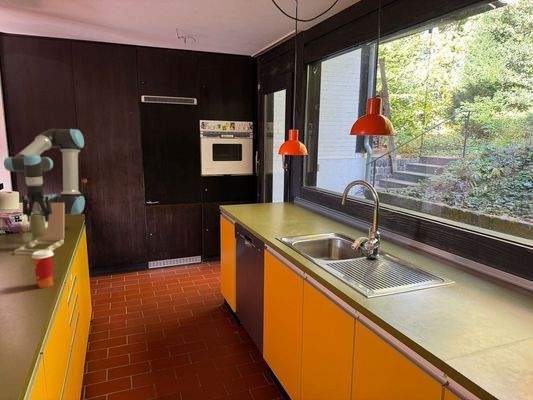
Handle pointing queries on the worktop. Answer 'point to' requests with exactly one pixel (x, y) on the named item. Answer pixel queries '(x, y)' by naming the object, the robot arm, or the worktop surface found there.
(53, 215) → the lid
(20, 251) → the frame
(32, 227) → the squeeze bottle
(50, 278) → the paper cup
